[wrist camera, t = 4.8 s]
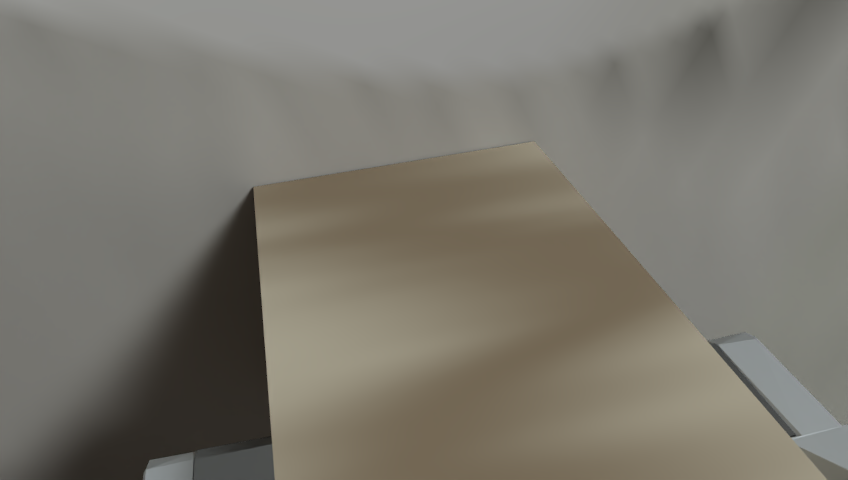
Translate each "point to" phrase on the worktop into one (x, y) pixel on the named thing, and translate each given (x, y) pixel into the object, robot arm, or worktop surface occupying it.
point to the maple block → (486, 337)
